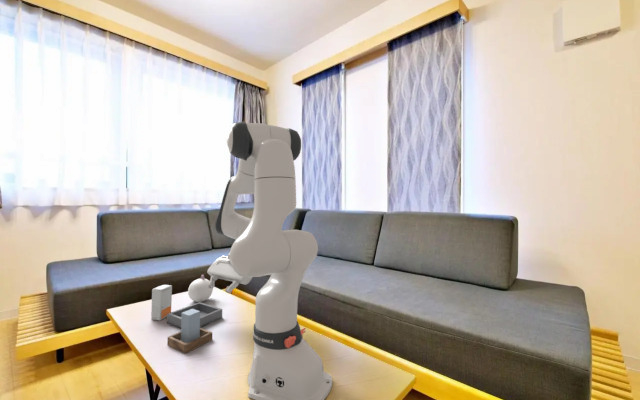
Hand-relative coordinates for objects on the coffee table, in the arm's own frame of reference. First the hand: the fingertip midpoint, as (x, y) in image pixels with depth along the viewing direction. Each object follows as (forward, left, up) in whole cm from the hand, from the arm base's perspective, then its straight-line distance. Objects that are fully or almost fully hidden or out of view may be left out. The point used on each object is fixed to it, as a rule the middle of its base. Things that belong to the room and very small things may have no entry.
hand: (218, 289), depth 98 cm
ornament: (+29, -14, -14) cm, 35 cm away
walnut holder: (0, +11, -14) cm, 18 cm away
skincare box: (+27, +5, -14) cm, 31 cm away
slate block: (0, +11, -14) cm, 18 cm away
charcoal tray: (+13, 0, -14) cm, 19 cm away
